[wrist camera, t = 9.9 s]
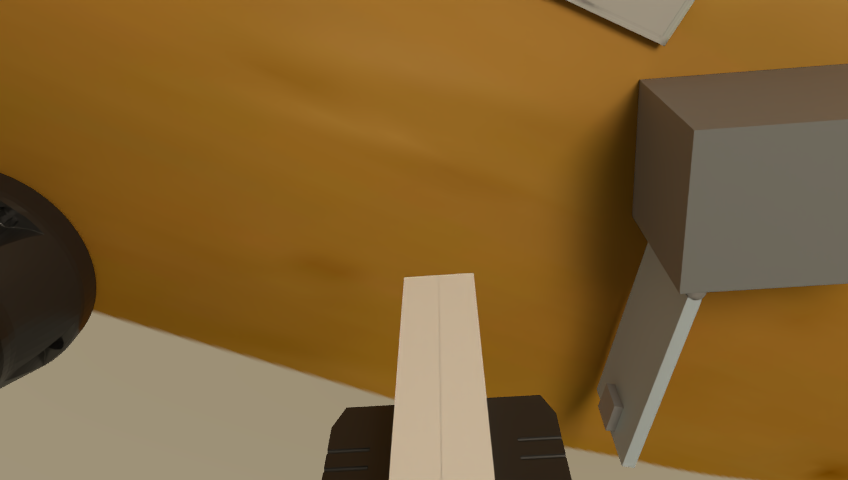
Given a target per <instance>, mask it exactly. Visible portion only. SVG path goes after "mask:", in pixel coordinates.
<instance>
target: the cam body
mask: <svg viewBox="0 0 848 480" xmlns="http://www.w3.org/2000/svg"><path fill="white" fill-rule="evenodd" d="M632 216H633V218H634V220H635V221H636V223H637V225H638V226H639V228H640V230H641V231H642V233H643V235H644V236H645V238H646V240H647V241H648V243H649V244H650V246H651V248H652V249H653V251H654V253H655V254H656V256H657V258H658V259H659V261H660V263H661V264H662V266H663V267H664V269H665V271H666V272H667V274H668V276H669V277H670V279H671V281H672V282H673V284H674V286H675V287H676V289H677V291H678V292H679V294H686V293H702V292H718V291H734V290H750V289H766V288H782V287H798V286H814V285H830V284H846V283H848V64H839V65H826V66H813V67H800V68H787V69H774V70H761V71H748V72H735V73H722V74H709V75H696V76H683V77H670V78H657V79H644V80H639V99H638V118H637V136H636V155H635V174H634V193H633V212H632Z"/></svg>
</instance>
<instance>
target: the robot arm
mask: <svg viewBox="0 0 848 480" xmlns="http://www.w3.org/2000/svg"><path fill="white" fill-rule="evenodd" d="M95 296H96V280H95V273H94V268H93V264H92V261H91V258H90V255H89V253H88V251H87V248H86V246H85V244H84V242H83V241H82V239H81V237H80V236H79V234H78V232H77V231H76V230H75V228H74V227H73V225H72V224H71V223H70V222H69V221H68V219H67V218H66V217H65V216H64V215H63V214H62V213H61V212H60V211H59V210H58V209H57V208H56V207H55V206H54V205H53V204H52V203H51V202H49V201H48V200H47V199H46V198H44V197H43V196H42V195H40V194H39V193H38V192H36V191H35V190H33V189H32V188H30V187H28V186H27V185H25V184H23V183H21V182H19V181H17V180H15V179H13V178H11V177H9V176H6V175H4V174H1V173H0V388H2V387H4V386H6V385H8V384H10V383H11V382H13V381H15V380H17V379H19V378H21V377H23V376H25V375H27V374H29V373H31V372H33V371H34V370H36V369H38V368H40V367H42V366H44V365H46V364H47V363H49V362H50V361H52V360H54V359H55V358H56V357H57V356H58V355H60V354H61V353H62V352H63V351H64V350H65V349H66V348H67V347H68V346H69V345H70V344H71V343H72V341H73V340H74V339H75V338H76V336H77V335H78V334H79V333H80V331H81V330H82V329H83V327H84V326H85V324H86V323H87V321H88V319H89V317H90V315H91V313H92V310H93V306H94V302H95ZM565 456H566V455H565V450H564V445H563V441H562V439H561V432H560V428H559V424H558V420H557V415H556V413H555V412H554V410H553V409H552V408H551V407H550V406H549V405H548V404H547V402H546V401H545V400H544V399H543V398H542V397H541V396H540V395H532V396H514V397H497V398H486V389H485V379H484V370H483V360H482V350H481V341H480V331H479V322H478V312H477V302H476V293H475V283H474V273H466V274H450V275H435V276H419V277H404V287H403V300H402V313H401V327H400V340H399V353H398V366H397V379H396V393H395V405H388V406H369V407H351V408H346V409H345V411H344V412H343V413H342V415H341V416H340V417H339V419H338V420H337V421H336V423H335V424H334V425H333V427H332V430H331V434H330V439H329V445H328V454H327V456H326V461H325V466H324V473H323V477H322V480H571V475H570V471H569V467H568V462H567V458H566V457H565Z"/></svg>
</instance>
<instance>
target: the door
mask: <svg viewBox="0 0 848 480" xmlns="http://www.w3.org/2000/svg"><path fill="white" fill-rule="evenodd" d="M705 295H706V292H702V293H686V294H679V292H678V291H677V289H676V287H675V286H674V284H673V282H672V281H671V279H670V277H669V276H668V274H667V272H666V271H665V269H664V267H663V266H662V264H661V263H660V261H659V259H658V258H657V256H656V254H655V253H654V251H653V249H652V248H651V246H650V244H649V243H647V246H646V249H645V252H644V255H643V258H642V261H641V264H640V267H639V269H638V272H637V275H636V278H635V281H634V284H633V287H632V290H631V292H630V295H629V298H628V301H627V304H626V307H625V310H624V313H623V315H622V318H621V321H620V324H619V327H618V330H617V333H616V336H615V339H614V341H613V344H612V347H611V350H610V353H609V356H608V359H607V362H606V364H605V367H604V370H603V373H602V376H601V379H600V382H599V385H598V387H597V391H598V394H599V397H600V403H599V405H598V407H599V410H600V413H601V417H602V420H603V423H604V426H605V429H606V430H608V431H611V434H612V437H613V440H614V443H615V446H616V449H617V452H618V455H619V459H620V461H621V465H622V466H625V467H632V468H635V465H636V463H637V460H638V458H639V455H640V453H641V450H642V448H643V445H644V443H645V440H646V438H647V435H648V433H649V430H650V428H651V425H652V423H653V420H654V418H655V415H656V413H657V410H658V408H659V405H660V403H661V400H662V398H663V395H664V393H665V390H666V388H667V385H668V383H669V380H670V378H671V375H672V373H673V370H674V368H675V365H676V363H677V360H678V358H679V355H680V353H681V350H682V348H683V345H684V343H685V340H686V338H687V335H688V333H689V330H690V328H691V325H692V323H693V320H694V318H695V315H696V313H697V310H698V308H699V305H700V303H701V300H702V298H703V297H704V296H705Z"/></svg>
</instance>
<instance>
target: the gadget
mask: <svg viewBox="0 0 848 480" xmlns="http://www.w3.org/2000/svg"><path fill="white" fill-rule="evenodd" d="M567 1H569V2H571V3H573V4H575V5H577V6H580V7H582V8H584V9H586V10H588V11H590V12H592V13H595V14H597V15H599V16H601V17H603V18H605V19H607V20H610V21H612V22H614V23H616V24H618V25H620V26H622V27H625V28H627V29H629V30H631V31H633V32H635V33H637V34H639V35H642V36H644V37H646V38H648V39H650V40H652V41H654V42H657V43H659V44H661V45H663V46H665V44H666V43H667V41H668V40H669V38H670V37H671V35H672V34H673V32H674V31H675V29H676V28H677V26H678V25H679V23H680V22H681V20H682V19H683V17H684V16H685V14H686V13H687V11H688V10H689V8H690V7H691V5H692V4H693V2H694V1H695V0H567Z"/></svg>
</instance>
